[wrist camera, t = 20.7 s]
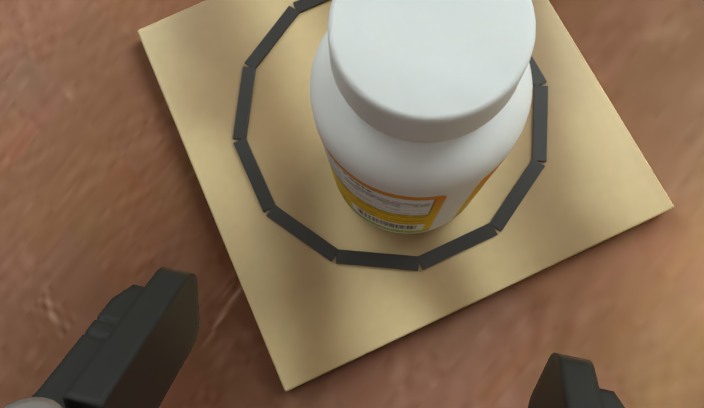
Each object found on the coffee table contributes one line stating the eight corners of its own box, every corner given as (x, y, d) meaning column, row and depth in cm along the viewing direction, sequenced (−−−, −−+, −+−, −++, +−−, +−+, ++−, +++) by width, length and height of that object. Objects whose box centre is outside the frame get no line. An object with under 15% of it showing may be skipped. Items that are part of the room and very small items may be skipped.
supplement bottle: (442, 71, 20) (497, -142, 11) (506, 200, 19) (631, 86, 10) (310, 127, 20) (248, -41, 11) (367, 259, 19) (355, 204, 10)
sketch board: (287, 390, 19) (284, 393, 18) (142, 37, 22) (134, 28, 21) (666, 210, 19) (677, 206, 19) (474, -109, 23) (476, -122, 22)
